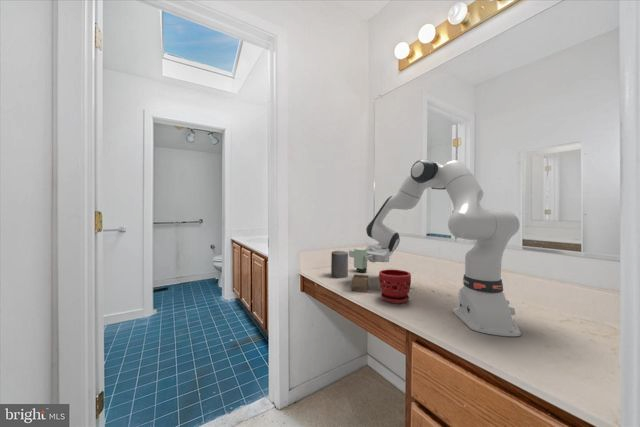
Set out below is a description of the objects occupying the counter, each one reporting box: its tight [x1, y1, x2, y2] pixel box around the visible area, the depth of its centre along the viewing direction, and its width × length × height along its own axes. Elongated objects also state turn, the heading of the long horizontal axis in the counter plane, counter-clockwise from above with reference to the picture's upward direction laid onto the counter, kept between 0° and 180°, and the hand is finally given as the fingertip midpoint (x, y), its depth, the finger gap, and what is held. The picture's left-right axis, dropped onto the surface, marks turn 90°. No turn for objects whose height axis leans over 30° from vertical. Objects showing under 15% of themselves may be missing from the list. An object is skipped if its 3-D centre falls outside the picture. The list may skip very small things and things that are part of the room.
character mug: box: [356, 267, 368, 273], centre depth 155 cm, size 11×7×13 cm, turn 35°
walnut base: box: [351, 274, 370, 293], centre depth 122 cm, size 7×7×6 cm
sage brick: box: [353, 247, 368, 269], centre depth 122 cm, size 4×4×9 cm
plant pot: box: [378, 269, 412, 304], centre depth 108 cm, size 13×13×12 cm
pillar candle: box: [330, 249, 349, 279], centre depth 145 cm, size 10×10×15 cm
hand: (359, 257), depth 121 cm, fingers closed on sage brick, 4 cm apart
